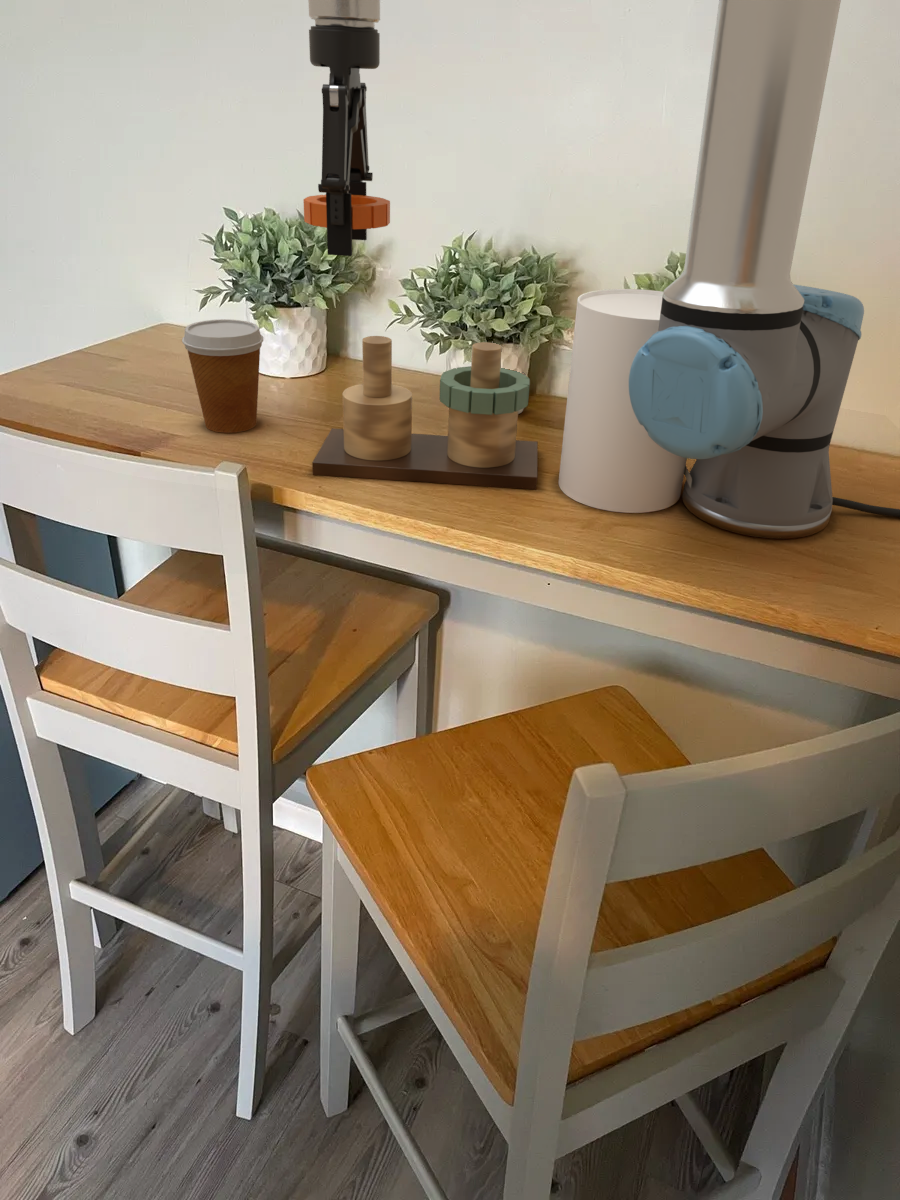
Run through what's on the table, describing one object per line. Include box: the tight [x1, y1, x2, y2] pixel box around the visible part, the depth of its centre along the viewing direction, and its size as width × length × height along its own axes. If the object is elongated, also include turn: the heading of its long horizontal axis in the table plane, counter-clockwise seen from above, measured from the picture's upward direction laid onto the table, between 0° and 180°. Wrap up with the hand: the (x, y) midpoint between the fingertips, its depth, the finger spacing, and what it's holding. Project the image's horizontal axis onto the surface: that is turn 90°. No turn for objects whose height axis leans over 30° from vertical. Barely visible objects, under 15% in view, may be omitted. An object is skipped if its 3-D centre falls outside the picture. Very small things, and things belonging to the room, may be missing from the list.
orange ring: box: [302, 194, 391, 230], centre depth 105 cm, size 10×10×2 cm
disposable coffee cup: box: [181, 318, 264, 434], centre depth 110 cm, size 10×10×12 cm
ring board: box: [311, 335, 538, 491], centre depth 101 cm, size 25×11×14 cm, turn 85°
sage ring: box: [439, 365, 531, 415], centre depth 99 cm, size 10×10×2 cm
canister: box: [558, 288, 688, 514], centre depth 95 cm, size 14×14×20 cm
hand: (348, 246), depth 107 cm, fingers closed on orange ring, 10 cm apart
